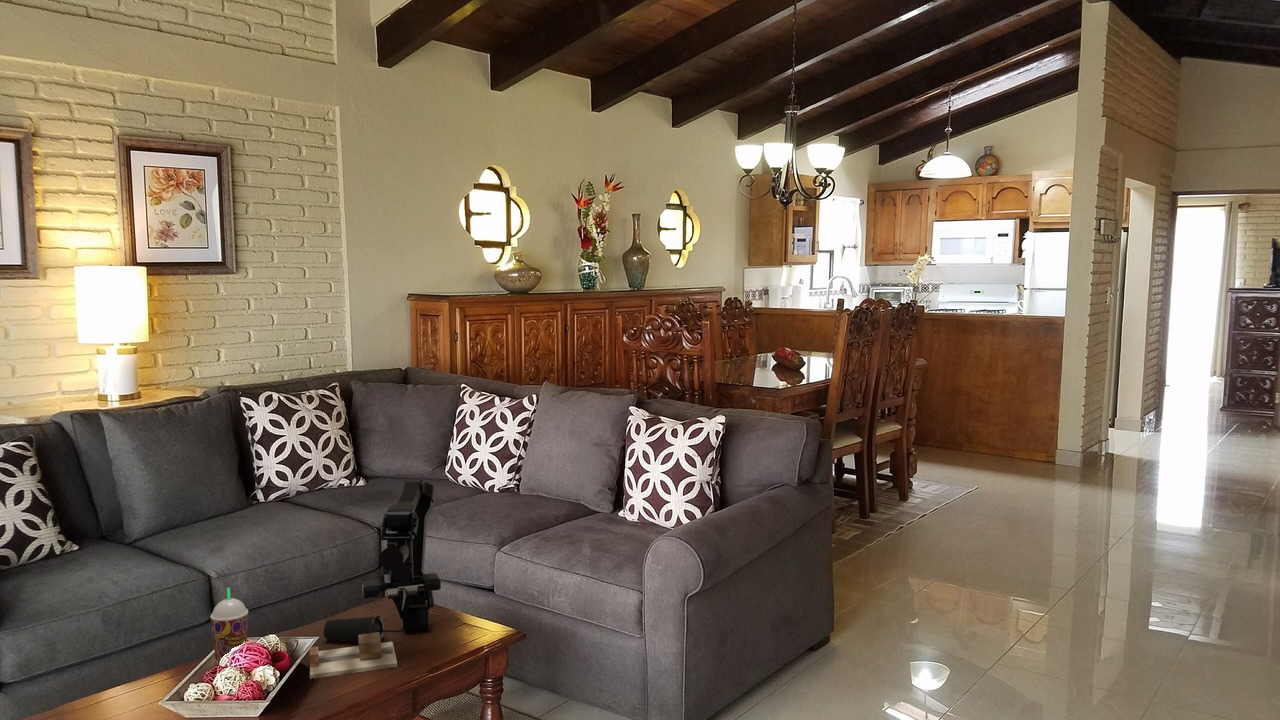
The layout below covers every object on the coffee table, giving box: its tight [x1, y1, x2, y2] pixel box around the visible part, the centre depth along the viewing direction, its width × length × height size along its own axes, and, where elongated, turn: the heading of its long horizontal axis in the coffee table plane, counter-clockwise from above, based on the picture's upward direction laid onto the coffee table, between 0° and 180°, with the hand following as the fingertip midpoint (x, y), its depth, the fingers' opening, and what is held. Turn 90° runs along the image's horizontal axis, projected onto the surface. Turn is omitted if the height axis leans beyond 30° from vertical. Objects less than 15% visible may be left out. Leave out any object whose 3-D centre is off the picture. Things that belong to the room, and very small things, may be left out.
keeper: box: [358, 632, 382, 660], centre depth 222 cm, size 5×6×4 cm
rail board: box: [309, 641, 398, 680], centre depth 220 cm, size 20×14×4 cm
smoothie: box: [209, 587, 249, 662], centre depth 216 cm, size 8×8×20 cm
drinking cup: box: [323, 615, 402, 644], centre depth 233 cm, size 8×8×20 cm
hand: (402, 618), depth 224 cm, fingers closed
